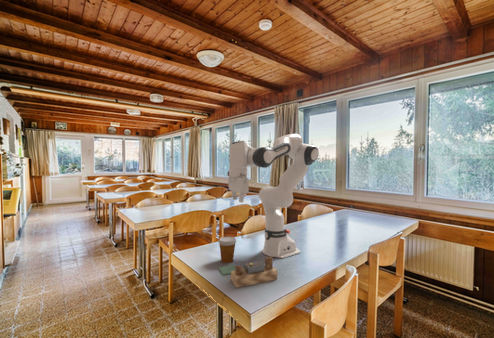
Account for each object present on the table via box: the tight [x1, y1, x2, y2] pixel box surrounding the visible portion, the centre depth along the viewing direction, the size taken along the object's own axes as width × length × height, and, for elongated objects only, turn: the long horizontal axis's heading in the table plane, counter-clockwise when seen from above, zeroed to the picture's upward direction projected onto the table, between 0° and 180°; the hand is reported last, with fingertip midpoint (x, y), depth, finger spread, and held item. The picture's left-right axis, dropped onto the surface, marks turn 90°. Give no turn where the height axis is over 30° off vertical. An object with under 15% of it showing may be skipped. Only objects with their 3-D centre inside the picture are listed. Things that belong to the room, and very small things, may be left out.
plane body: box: [229, 256, 278, 289], centre depth 105 cm, size 21×7×9 cm, turn 113°
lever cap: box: [243, 260, 265, 274], centre depth 105 cm, size 8×4×4 cm, turn 113°
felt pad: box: [217, 264, 236, 276], centre depth 114 cm, size 8×8×1 cm
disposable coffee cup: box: [218, 236, 237, 264], centre depth 125 cm, size 10×10×12 cm
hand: (237, 200), depth 115 cm, fingers open, 8 cm apart
